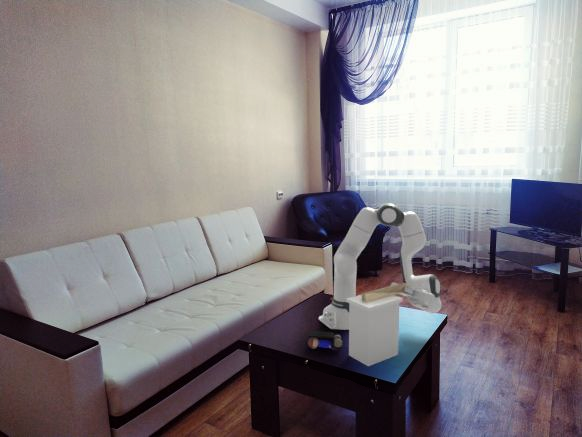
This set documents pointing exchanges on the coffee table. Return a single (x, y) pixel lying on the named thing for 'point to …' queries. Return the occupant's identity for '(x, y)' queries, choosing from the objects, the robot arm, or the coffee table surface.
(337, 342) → the figurine character
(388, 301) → the pedestal
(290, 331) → the coffee table surface
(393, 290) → the beech bar
